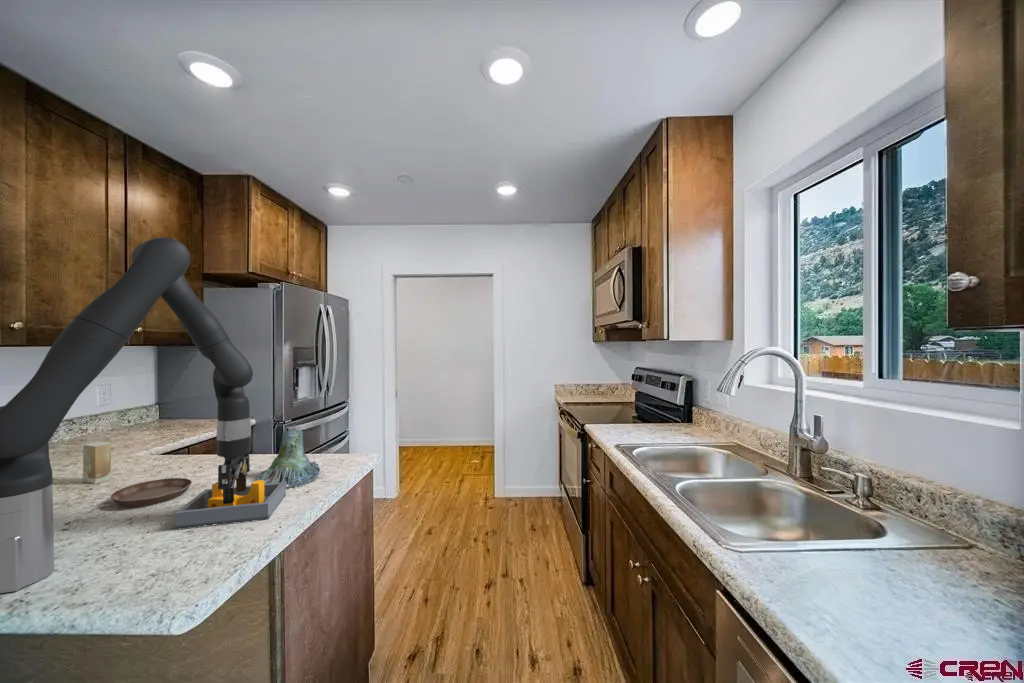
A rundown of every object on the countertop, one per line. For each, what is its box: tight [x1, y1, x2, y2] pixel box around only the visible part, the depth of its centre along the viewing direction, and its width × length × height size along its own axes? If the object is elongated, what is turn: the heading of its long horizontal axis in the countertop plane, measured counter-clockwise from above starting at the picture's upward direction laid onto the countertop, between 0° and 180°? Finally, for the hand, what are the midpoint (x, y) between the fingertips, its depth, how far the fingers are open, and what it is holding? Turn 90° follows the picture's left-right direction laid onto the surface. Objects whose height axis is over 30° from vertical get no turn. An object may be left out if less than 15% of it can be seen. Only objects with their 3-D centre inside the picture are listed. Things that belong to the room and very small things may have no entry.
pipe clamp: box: [208, 479, 265, 508], centre depth 108 cm, size 12×4×6 cm, turn 92°
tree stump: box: [257, 430, 321, 490], centre depth 134 cm, size 18×20×18 cm
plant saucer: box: [110, 477, 193, 508], centre depth 119 cm, size 18×18×3 cm
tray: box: [174, 482, 287, 530], centre depth 108 cm, size 16×20×4 cm
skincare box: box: [82, 441, 112, 484], centre depth 133 cm, size 6×4×12 cm
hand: (235, 496), depth 108 cm, fingers open, 8 cm apart
